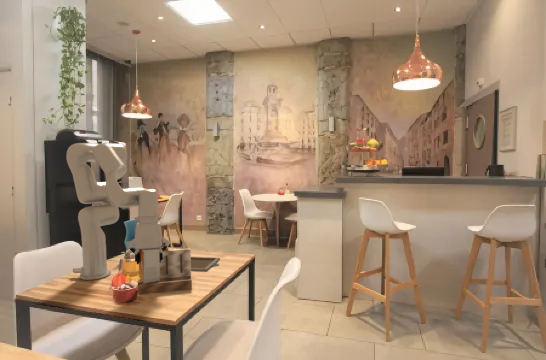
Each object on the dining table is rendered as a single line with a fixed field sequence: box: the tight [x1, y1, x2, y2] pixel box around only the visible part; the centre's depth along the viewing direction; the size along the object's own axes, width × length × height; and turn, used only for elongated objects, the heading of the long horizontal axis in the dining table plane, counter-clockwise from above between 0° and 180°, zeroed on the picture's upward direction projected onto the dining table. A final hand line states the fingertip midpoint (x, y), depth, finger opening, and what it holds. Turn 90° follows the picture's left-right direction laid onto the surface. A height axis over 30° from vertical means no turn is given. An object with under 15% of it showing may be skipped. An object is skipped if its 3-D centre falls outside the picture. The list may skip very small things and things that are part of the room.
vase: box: [123, 219, 138, 251], centre depth 183 cm, size 8×8×20 cm
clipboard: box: [191, 256, 221, 272], centre depth 171 cm, size 19×2×30 cm
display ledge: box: [137, 247, 193, 295], centre depth 141 cm, size 20×15×14 cm
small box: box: [138, 248, 160, 284], centre depth 139 cm, size 8×6×13 cm
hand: (149, 262), depth 139 cm, fingers closed on small box, 7 cm apart
